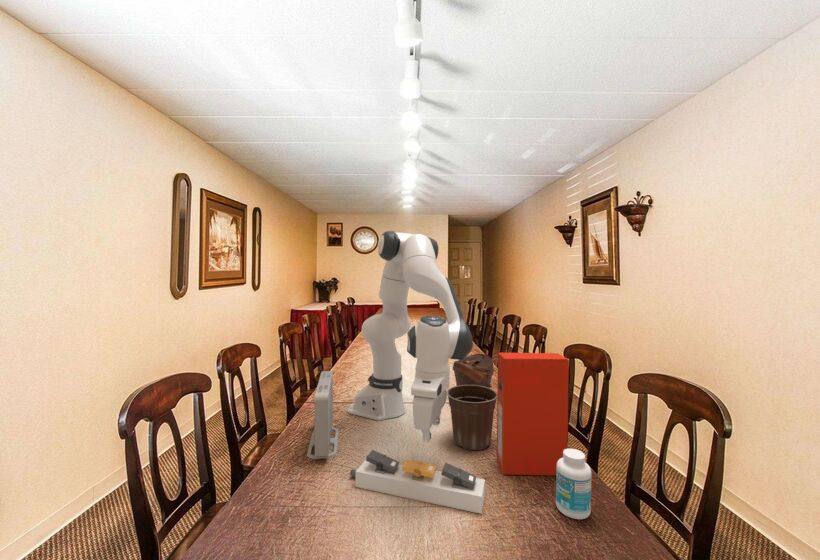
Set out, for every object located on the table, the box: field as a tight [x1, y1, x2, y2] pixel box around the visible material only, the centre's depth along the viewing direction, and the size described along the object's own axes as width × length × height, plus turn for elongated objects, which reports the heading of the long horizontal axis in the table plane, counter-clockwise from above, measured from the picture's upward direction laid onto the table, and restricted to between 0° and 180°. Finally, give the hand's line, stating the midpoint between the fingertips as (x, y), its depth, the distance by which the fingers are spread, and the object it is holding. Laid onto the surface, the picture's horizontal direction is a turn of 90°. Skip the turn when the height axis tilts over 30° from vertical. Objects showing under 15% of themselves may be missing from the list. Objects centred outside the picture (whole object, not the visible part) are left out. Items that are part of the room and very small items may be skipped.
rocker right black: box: [441, 462, 477, 489], centre depth 86 cm, size 8×4×2 cm, turn 73°
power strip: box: [349, 459, 486, 515], centre depth 89 cm, size 35×7×4 cm, turn 72°
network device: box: [306, 370, 340, 460], centre depth 113 cm, size 26×9×20 cm, turn 9°
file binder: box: [496, 352, 570, 476], centre depth 99 cm, size 8×17×32 cm, turn 89°
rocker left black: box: [365, 449, 400, 474], centre depth 92 cm, size 8×4×2 cm, turn 73°
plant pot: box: [447, 385, 497, 451], centre depth 115 cm, size 16×16×16 cm
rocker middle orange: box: [402, 458, 437, 478], centre depth 89 cm, size 8×4×2 cm, turn 72°
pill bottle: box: [555, 448, 593, 520], centre depth 82 cm, size 8×7×14 cm
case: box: [452, 353, 494, 389], centre depth 154 cm, size 18×20×18 cm
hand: (431, 432), depth 92 cm, fingers open, 8 cm apart
